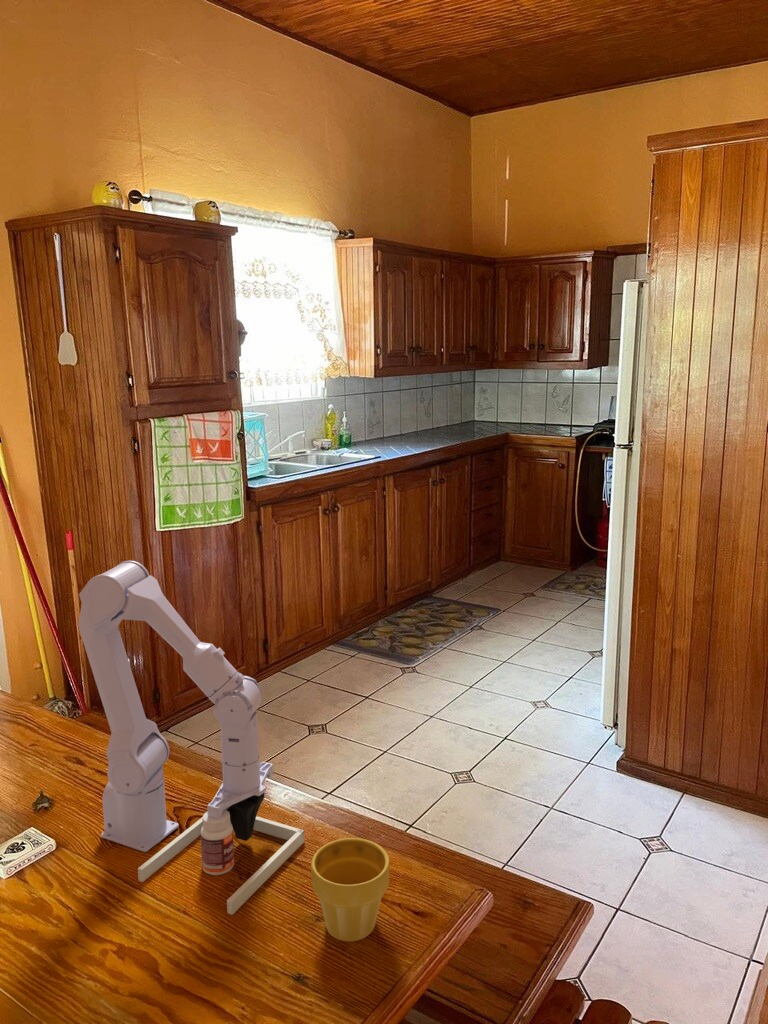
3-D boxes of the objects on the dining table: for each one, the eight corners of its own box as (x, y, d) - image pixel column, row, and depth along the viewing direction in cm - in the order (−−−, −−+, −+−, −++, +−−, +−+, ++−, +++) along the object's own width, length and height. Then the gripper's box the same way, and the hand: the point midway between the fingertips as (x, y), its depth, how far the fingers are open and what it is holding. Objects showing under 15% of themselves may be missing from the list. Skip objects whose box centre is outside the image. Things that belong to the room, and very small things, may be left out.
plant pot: (380, 958, 101) (380, 890, 99) (302, 947, 103) (301, 879, 102) (395, 905, 111) (396, 841, 109) (324, 895, 113) (323, 832, 111)
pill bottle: (231, 876, 118) (228, 824, 116) (198, 876, 118) (196, 824, 116) (237, 856, 122) (235, 806, 121) (206, 856, 122) (204, 806, 121)
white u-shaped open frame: (138, 880, 117) (137, 868, 116) (218, 815, 133) (217, 804, 133) (232, 915, 109) (231, 902, 109) (304, 841, 126) (304, 830, 125)
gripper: (233, 785, 115) (236, 870, 117) (288, 742, 128) (290, 819, 130) (194, 774, 118) (198, 857, 120) (251, 733, 131) (254, 809, 133)
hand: (243, 837), depth 125 cm, fingers closed
